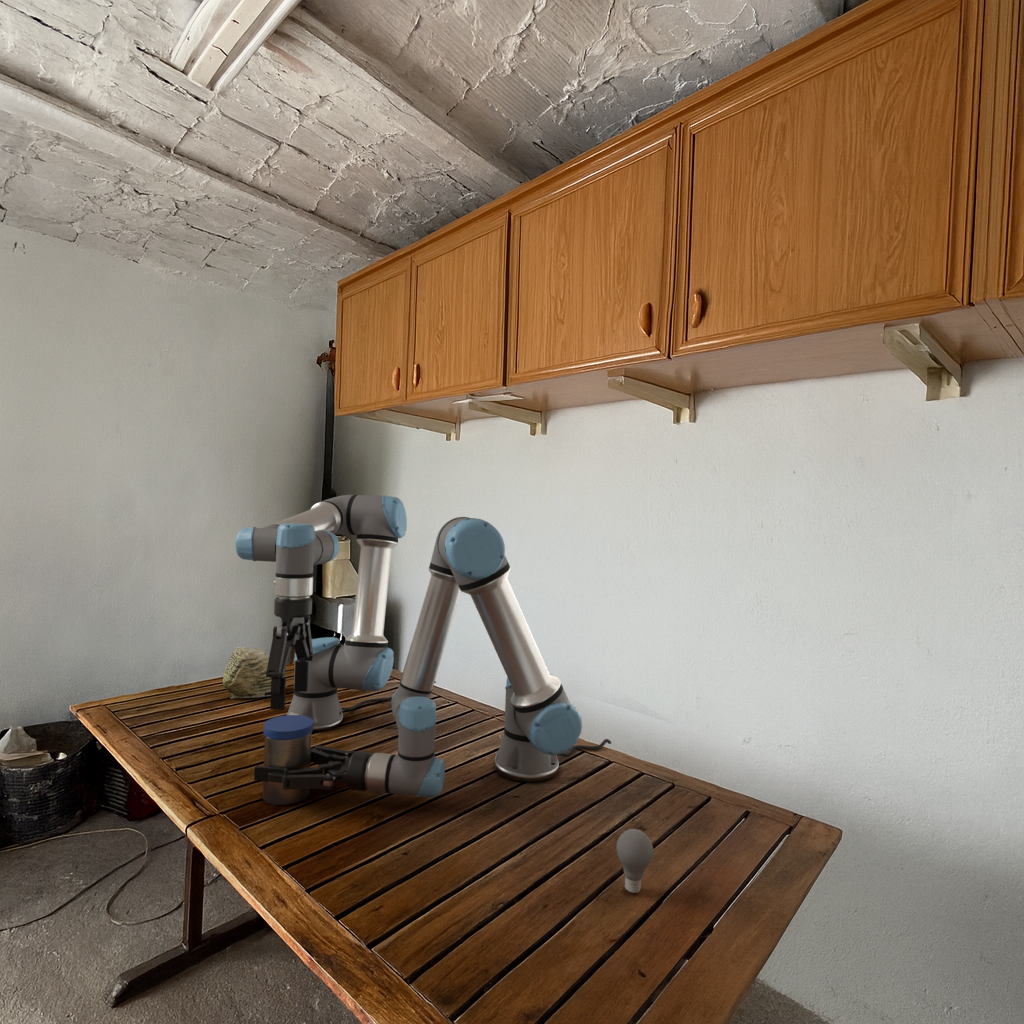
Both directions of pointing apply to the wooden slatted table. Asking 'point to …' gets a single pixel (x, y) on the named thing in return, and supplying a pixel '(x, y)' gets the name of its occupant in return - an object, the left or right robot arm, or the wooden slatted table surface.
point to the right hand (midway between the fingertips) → (267, 762)
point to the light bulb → (634, 857)
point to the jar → (282, 756)
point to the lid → (288, 727)
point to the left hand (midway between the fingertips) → (289, 699)
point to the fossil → (247, 674)
